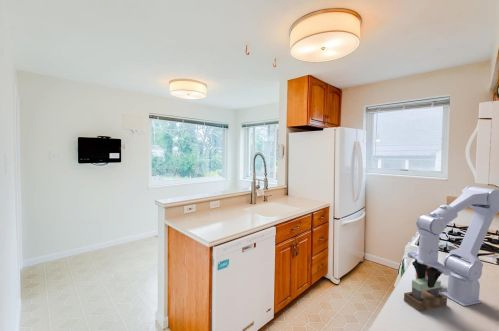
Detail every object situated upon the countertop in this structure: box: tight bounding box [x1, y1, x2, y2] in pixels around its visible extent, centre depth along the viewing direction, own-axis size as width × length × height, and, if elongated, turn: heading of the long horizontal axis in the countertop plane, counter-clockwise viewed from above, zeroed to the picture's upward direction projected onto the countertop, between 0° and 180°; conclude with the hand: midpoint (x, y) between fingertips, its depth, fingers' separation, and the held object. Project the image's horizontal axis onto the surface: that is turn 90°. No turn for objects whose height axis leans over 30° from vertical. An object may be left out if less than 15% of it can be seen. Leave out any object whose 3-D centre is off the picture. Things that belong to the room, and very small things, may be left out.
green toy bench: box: [411, 278, 442, 301], centre depth 87 cm, size 10×3×6 cm, turn 105°
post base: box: [403, 289, 448, 312], centre depth 87 cm, size 13×6×3 cm, turn 105°
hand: (426, 284), depth 87 cm, fingers closed on green toy bench, 3 cm apart
